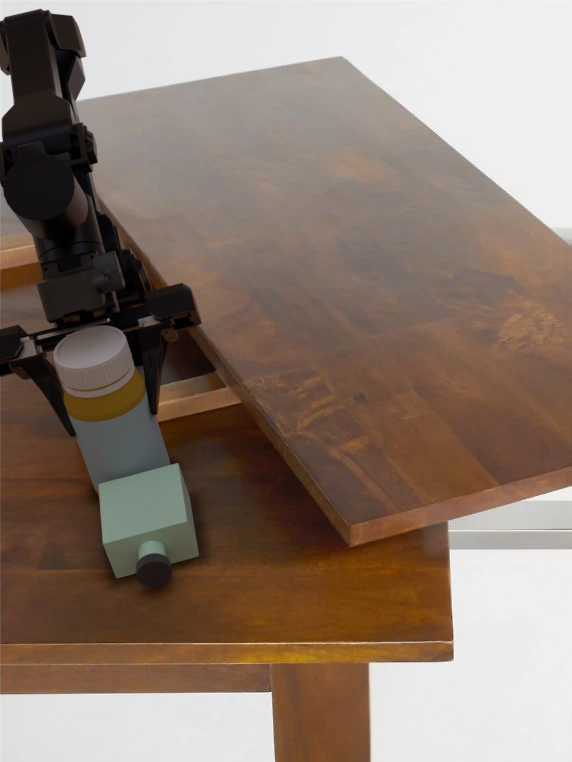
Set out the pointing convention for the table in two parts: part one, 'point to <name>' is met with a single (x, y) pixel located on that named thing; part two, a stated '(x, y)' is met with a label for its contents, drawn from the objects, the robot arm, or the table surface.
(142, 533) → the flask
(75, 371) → the bottle
